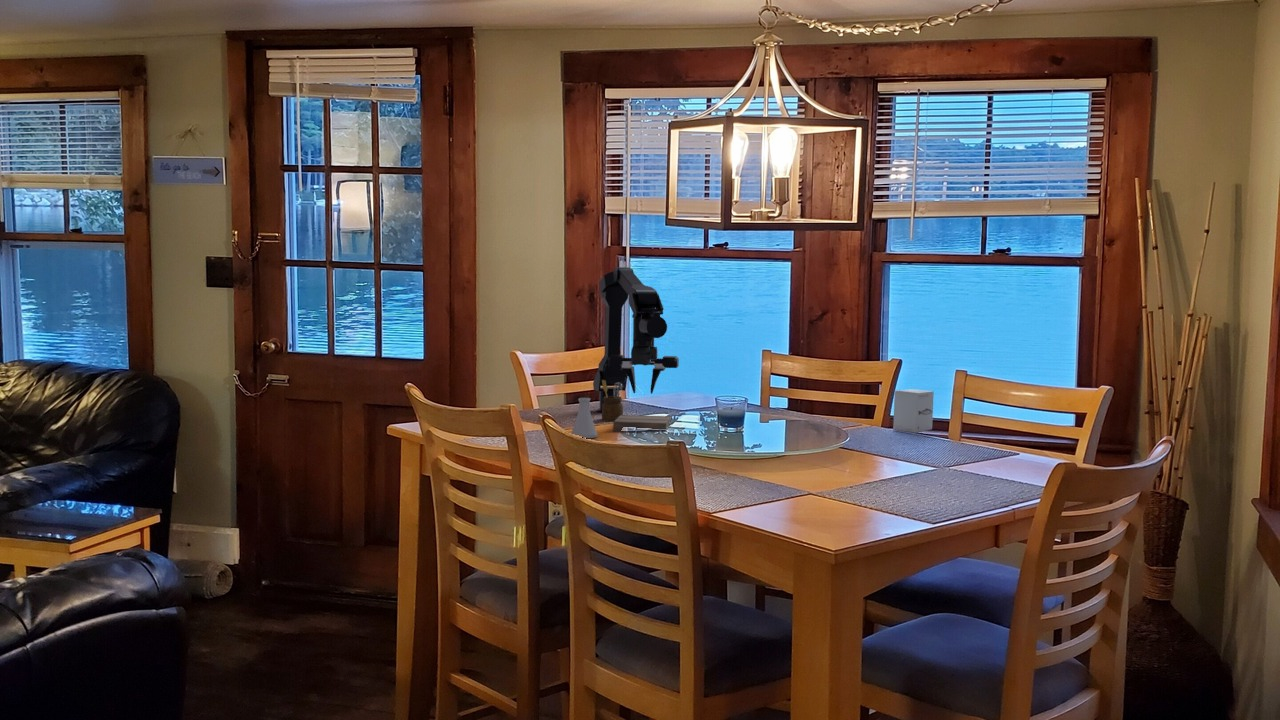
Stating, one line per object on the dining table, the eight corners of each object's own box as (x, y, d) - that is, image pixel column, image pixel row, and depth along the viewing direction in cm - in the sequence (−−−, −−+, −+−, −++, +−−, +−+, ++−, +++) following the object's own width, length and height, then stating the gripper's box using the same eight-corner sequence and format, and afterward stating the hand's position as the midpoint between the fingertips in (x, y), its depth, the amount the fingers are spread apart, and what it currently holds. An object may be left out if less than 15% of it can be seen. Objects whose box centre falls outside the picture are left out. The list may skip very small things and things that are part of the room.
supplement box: (916, 442, 291) (917, 392, 290) (892, 438, 297) (893, 390, 296) (932, 439, 296) (934, 390, 295) (909, 435, 302) (910, 388, 301)
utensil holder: (627, 422, 321) (627, 379, 320) (609, 423, 318) (609, 381, 316) (614, 419, 326) (614, 377, 325) (596, 421, 322) (597, 379, 321)
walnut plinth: (620, 423, 318) (620, 414, 318) (670, 425, 316) (670, 416, 316) (613, 431, 304) (613, 421, 304) (665, 432, 302) (665, 423, 302)
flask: (567, 435, 296) (567, 397, 295) (594, 434, 298) (594, 396, 297) (573, 439, 289) (573, 400, 288) (601, 438, 291) (601, 399, 290)
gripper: (604, 337, 301) (604, 395, 302) (675, 338, 299) (674, 397, 300) (610, 334, 312) (610, 391, 313) (679, 335, 310) (678, 392, 311)
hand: (643, 393), depth 309 cm, fingers open, 4 cm apart
